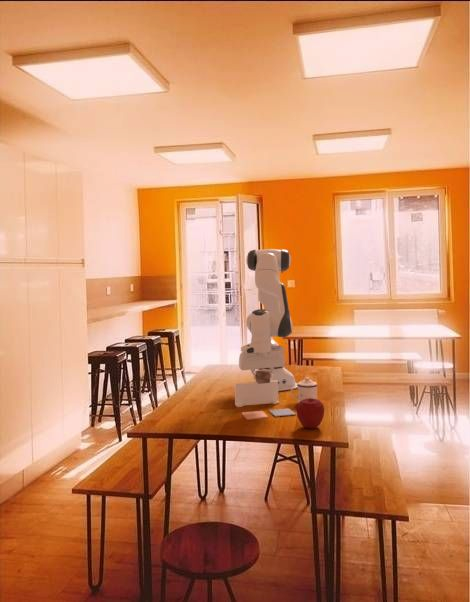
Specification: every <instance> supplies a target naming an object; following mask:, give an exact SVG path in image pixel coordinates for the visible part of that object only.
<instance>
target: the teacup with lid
mask: <svg viewBox="0 0 470 602" xmlns="http://www.w3.org/2000/svg"><path fill="white" fill-rule="evenodd" d="M297 383H298V384H297V386H298V387H293V388H292V389H290V393H291V396H292V397H293V398H295V399H297V404H298V403H299V402H300V401H301V400H304V399H308V398H314V399H317V400H318V383H317V382H316V381H313V380H312V379H310V377H304V379H303V380H301V381H299V382H297ZM295 389H297V395H295V394H294V393H293V391H294V390H295Z"/></svg>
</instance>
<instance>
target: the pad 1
mask: <svg viewBox="0 0 470 602" xmlns="http://www.w3.org/2000/svg"><path fill="white" fill-rule="evenodd" d="M241 415H242V416H243V417H244V418H245V420H247V421H249V420H261V419H269V416H268V414H266V412H264V411H263V410H256V411H243V412H241Z"/></svg>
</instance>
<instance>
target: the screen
mask: <svg viewBox="0 0 470 602" xmlns="http://www.w3.org/2000/svg"><path fill="white" fill-rule="evenodd" d="M278 403H279V404H280V401H279V391H278V381H277V380H276V381H270V383H263V384H258V383H257V382H256V381H251V382H239V383H234V405H235V406H236V407H237V408H243V407H244V406H256V405H266V404H273V405H276V404H277V405H279V404H278Z"/></svg>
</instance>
